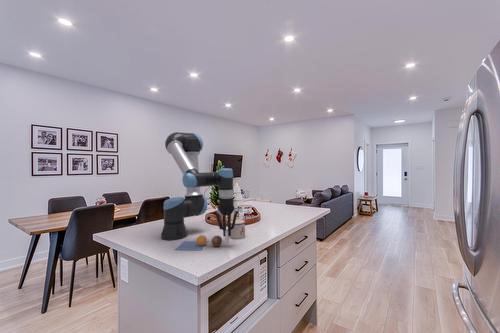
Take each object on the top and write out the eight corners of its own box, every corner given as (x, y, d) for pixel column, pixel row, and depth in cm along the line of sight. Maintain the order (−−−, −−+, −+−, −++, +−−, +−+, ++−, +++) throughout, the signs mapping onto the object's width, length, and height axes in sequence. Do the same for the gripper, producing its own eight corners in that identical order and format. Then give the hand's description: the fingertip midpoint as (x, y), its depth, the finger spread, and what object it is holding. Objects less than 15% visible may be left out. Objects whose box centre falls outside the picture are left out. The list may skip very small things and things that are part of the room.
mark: (174, 250, 120) (174, 249, 120) (184, 241, 134) (184, 241, 134) (201, 250, 119) (201, 250, 119) (208, 241, 132) (208, 241, 132)
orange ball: (202, 249, 123) (193, 244, 123) (205, 245, 128) (196, 240, 129) (206, 240, 123) (197, 235, 123) (209, 237, 128) (201, 232, 129)
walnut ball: (223, 243, 122) (215, 250, 122) (225, 239, 127) (217, 246, 127) (215, 235, 122) (208, 242, 122) (217, 231, 127) (210, 238, 127)
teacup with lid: (243, 239, 135) (243, 219, 135) (228, 238, 137) (227, 218, 137) (247, 233, 147) (247, 214, 147) (233, 233, 149) (233, 214, 149)
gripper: (212, 198, 121) (213, 244, 121) (237, 198, 120) (238, 245, 120) (215, 196, 129) (216, 240, 129) (239, 196, 127) (240, 240, 127)
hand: (227, 242), depth 124 cm, fingers closed
